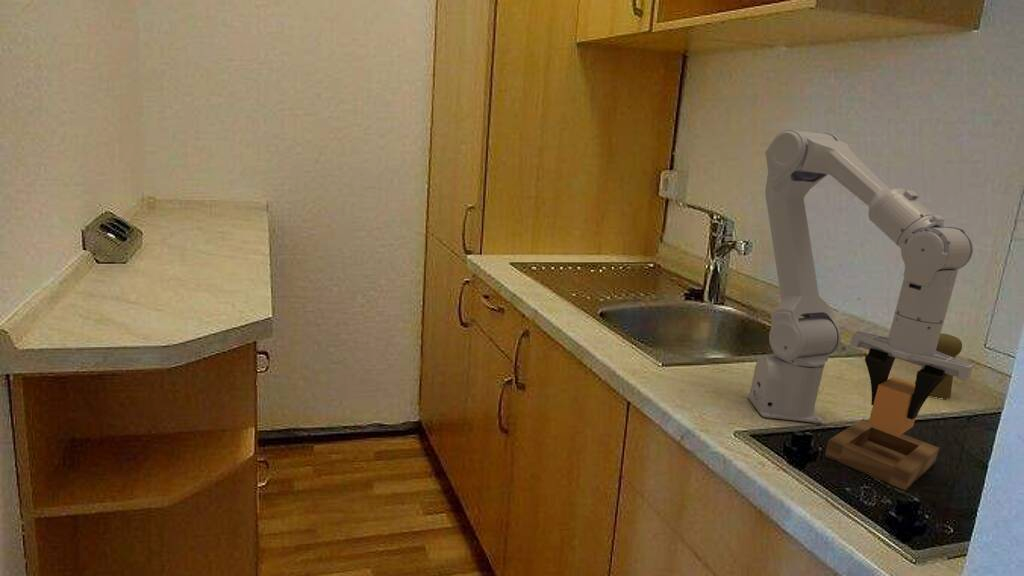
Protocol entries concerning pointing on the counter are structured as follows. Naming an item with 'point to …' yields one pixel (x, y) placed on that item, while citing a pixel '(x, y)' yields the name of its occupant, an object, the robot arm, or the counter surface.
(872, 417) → the tall wooden block
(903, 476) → the well
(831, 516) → the counter surface
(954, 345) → the cork
